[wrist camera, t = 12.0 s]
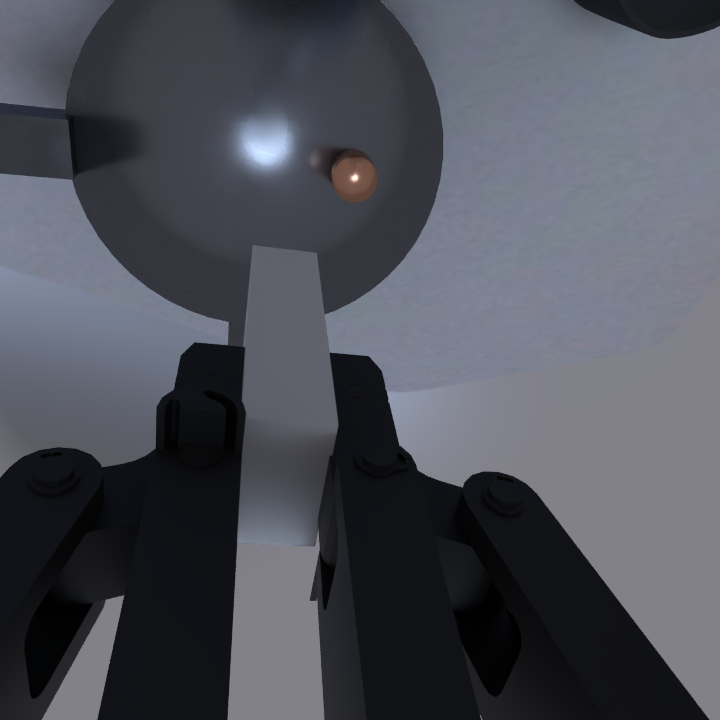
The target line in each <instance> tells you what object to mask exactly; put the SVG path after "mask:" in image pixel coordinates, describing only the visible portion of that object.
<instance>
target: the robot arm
mask: <svg viewBox="0 0 720 720" xmlns="http://www.w3.org/2000/svg"><path fill="white" fill-rule="evenodd" d="M156 419H157V420H156V449H155V450H153V451H152V452H151V453H149V454H148V455H146V456H145V457H142V458H140V459H137V460H135V461H132V462H128V463H124V464H120V465H114V466H108V467H101V464H100V463H99V462H98V461H97V460H96V459H95V458H94V457H93V456H92V455H91V454H88V453H86V452H83V451H80V450H78V449H72V448H71V449H70V448H60V447H58V448H51V449H44V450H39V451H36V452H34V453H31V454H29V455H26V456H24V457H22V458H21V459H19V460H18V461H17V462H16V463H14V464H13V465H12V466H11V467H9V469H8V470H7V471H6V472H5V473H4V474H3V475H2V476H1V478H0V720H42V718H43V716H44V714H45V713H46V711H47V708H48V707H49V705H50V703H51V702H52V700H53V698H54V696H55V694H56V693H57V691H58V689H59V687H60V685H61V683H62V682H63V680H64V678H65V676H66V674H67V673H68V671H69V669H70V667H71V665H72V663H73V662H74V660H75V658H76V656H77V654H78V652H79V651H80V649H81V647H82V645H83V644H84V642H85V640H86V638H87V636H88V635H89V633H90V631H91V629H92V627H93V625H94V624H95V622H96V620H97V618H98V616H99V615H100V613H101V611H102V609H103V607H104V604H105V600H106V599H110V598H114V597H118V596H122V595H124V600H123V604H122V608H121V614H120V618H119V622H118V627H117V632H116V636H115V641H114V645H113V650H112V655H111V659H110V664H109V669H108V673H107V678H106V682H105V687H104V692H103V696H102V701H101V706H100V710H99V715H98V719H97V720H227V717H228V698H229V680H230V663H231V645H232V626H233V625H232V624H233V608H234V590H235V572H236V553H237V543H242V544H267V545H294V546H315V544H316V538H317V533H318V529H319V543H320V551H319V556H318V561H317V566H316V572H315V576H314V582H313V586H312V592H311V597H310V601H316V599H317V601H318V616H319V617H318V618H319V634H320V651H321V667H322V683H323V701H324V717H325V720H481V718H480V715H481V717H482V719H483V720H709V719H708V717H707V716H706V715H705V714H704V712H703V711H702V710H701V708H700V707H699V706H698V705H697V703H696V702H695V701H694V699H693V698H692V696H691V695H690V694H689V692H688V691H687V690H686V689H685V687H684V686H683V685H682V683H681V682H680V681H679V679H678V678H677V677H676V676H675V674H674V673H673V672H672V671H671V669H670V668H669V666H668V665H667V664H666V662H665V661H664V660H663V658H662V657H661V656H660V654H659V653H658V652H657V651H656V650H655V648H654V647H653V645H652V644H651V643H650V641H649V640H648V639H647V638H646V636H645V635H644V634H643V632H642V631H641V630H640V628H639V627H638V626H637V625H636V623H635V622H634V620H633V619H632V618H631V616H630V615H629V614H628V613H627V611H626V610H625V609H624V607H623V606H622V605H621V603H620V602H619V601H618V599H617V598H616V597H615V596H614V594H613V593H612V592H611V590H610V589H609V588H608V586H607V585H606V584H605V582H604V581H603V580H602V578H601V577H600V576H599V575H598V573H597V572H596V571H595V569H594V568H593V567H592V565H591V564H590V563H589V561H588V560H587V559H586V557H585V556H584V555H583V554H582V552H581V551H580V550H579V548H578V547H577V546H576V544H575V543H574V542H573V540H572V539H571V538H570V536H569V535H568V534H567V533H566V531H565V530H564V529H563V527H562V526H561V525H560V523H559V522H558V521H557V520H556V518H555V517H554V515H553V514H552V513H551V512H550V510H549V509H548V508H547V506H546V505H545V504H544V502H543V501H542V500H541V498H540V497H539V496H538V495H537V493H535V492H534V491H533V490H532V489H531V488H530V487H529V486H528V485H527V484H526V483H524V482H522V481H520V480H519V479H517V478H515V477H513V476H510V475H507V474H503V473H500V472H480V473H477V474H474V475H472V476H471V477H470V478H469V479H467V481H466V482H465V483H464V486H463V488H462V487H459V486H455V485H452V484H449V483H445V482H442V481H439V480H436V479H433V478H431V477H428V476H426V475H425V474H423V473H421V472H419V471H418V470H417V466H416V464H415V462H414V460H413V458H412V456H411V455H410V454H409V453H408V452H406V451H405V450H404V449H403V448H402V447H401V446H399V442H398V438H397V434H396V429H395V425H394V421H393V417H392V412H391V409H390V404H389V402H388V395H387V391H386V390H385V383H384V379H383V374H382V371H381V370H380V368H379V367H378V366H377V365H376V364H375V363H374V362H373V361H372V359H371V358H370V357H369V356H361V355H349V354H338V353H329V346H328V338H327V330H326V322H325V314H324V306H323V298H322V291H321V283H320V275H319V267H318V259H317V253H315V252H307V251H298V250H289V249H281V248H272V247H263V246H255V245H253V247H252V258H251V268H250V279H249V289H248V300H247V310H246V321H245V332H244V342H243V347H240V346H229V345H218V344H207V343H194V344H193V345H191V346H190V347H189V348H188V349H187V350H186V351H185V352H184V353H183V354H182V355H181V358H180V362H179V367H178V373H177V377H176V382H175V388H174V390H173V391H171V392H170V393H168V394H167V395H165V396H164V397H162V399H161V401H160V402H159V404H158V406H157V415H156ZM479 713H480V714H479Z"/></svg>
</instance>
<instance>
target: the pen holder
mask: <svg viewBox="0 0 720 720" xmlns="http://www.w3.org/2000/svg"><path fill="white" fill-rule="evenodd" d="M575 1H576V2H577V3H578V4H579V5H580V6H582V7H583V8H585V9H587V10H589V11H591V12H593V13H595V14H598V15H600V16H602V17H604V18H607V19H609V20H612V21H614V22H617V23H619V24H622V25H624V26H627V27H630V28H632V29H635V30H637V31H640V32H642V33H645V34H647V35H650V36H653V37H657V38H665V39H671V38H681V37H687V36H692V35H696V34H700V33H703V32H706V31H709V30H711V29H714V28H716V27H718V26H720V0H575Z"/></svg>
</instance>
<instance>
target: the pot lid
mask: <svg viewBox="0 0 720 720" xmlns="http://www.w3.org/2000/svg"><path fill="white" fill-rule="evenodd" d="M442 161H443V129H442V121H441V114H440V107H439V103H438V99H437V96H436V92H435V88H434V84H433V82H432V79H431V77H430V74H429V72H428V69H427V67H426V65H425V62H424V60H423V58H422V56H421V54H420V53H419V51H418V49H417V47H416V46H415V44H414V42H413V41H412V39H411V37H410V36H409V34H408V33H407V32H406V30H405V29H404V28H403V26H402V25H401V24H400V23H399V21H398V20H397V19H396V17H395V16H394V15H393V14H392V13H391V12H390V11H389V10H388V9H387V8H386V7H385V6H384V5H383V4H382V3H381V2H380V1H379V0H115V1H114V3H113V4H112V5H111V6H110V7H109V8H108V10H107V11H106V12H105V13H104V14H103V15H102V17H101V18H100V19H99V20H98V22H97V23H96V25H95V27H94V28H93V30H92V32H91V33H90V35H89V36H88V38H87V40H86V41H85V43H84V45H83V48H82V50H81V52H80V55H79V57H78V59H77V62H76V64H75V66H74V70H73V74H72V77H71V81H70V85H69V89H68V93H67V102H66V110H64V109H54V108H44V107H34V106H24V105H14V104H5V103H0V173H2V174H13V175H25V176H36V177H48V178H59V179H71V180H73V184H74V187H75V190H76V194H77V196H78V198H79V200H80V203H81V205H82V207H83V210H84V212H85V214H86V216H87V218H88V220H89V221H90V223H91V225H92V226H93V228H94V230H95V231H96V233H97V235H98V236H99V238H100V239H101V240H102V242H103V243H104V244H105V246H106V247H107V248H108V249H109V251H110V252H111V253H112V255H113V256H114V257H115V258H116V259H117V260H118V261H119V262H120V263H121V264H122V265H123V266H124V267H125V268H126V269H127V270H128V271H129V272H130V273H131V274H132V275H133V276H134V277H136V278H137V279H138V280H139V281H141V282H142V283H143V284H144V285H146V286H147V287H148V288H150V289H151V290H153V291H154V292H156V293H157V294H159V295H161V296H162V297H164V298H165V299H167V300H169V301H171V302H173V303H175V304H177V305H179V306H181V307H183V308H185V309H187V310H190V311H193V312H195V313H198V314H201V315H204V316H207V317H210V318H214V319H219V320H223V321H227V322H233V323H241V324H245V321H246V310H247V300H248V289H249V279H250V268H251V258H252V247H253V245H255V246H263V247H272V248H281V249H289V250H298V251H307V252H315V253H317V259H318V267H319V275H320V283H321V291H322V298H323V306H324V314H327V313H330V312H332V311H335V310H337V309H339V308H341V307H343V306H345V305H347V304H349V303H351V302H353V301H355V300H357V299H358V298H360V297H361V296H363V295H364V294H366V293H367V292H369V291H370V290H372V289H373V288H374V287H375V286H377V285H378V284H379V283H380V282H381V281H382V280H384V279H385V278H386V277H387V276H388V275H389V274H390V273H391V272H392V271H393V270H394V269H395V268H396V267H397V266H398V265H399V263H400V262H401V261H402V260H403V259H404V258H405V256H406V255H407V253H408V252H409V251H410V249H411V248H412V246H413V245H414V244H415V242H416V241H417V239H418V237H419V235H420V233H421V231H422V230H423V228H424V226H425V224H426V222H427V220H428V217H429V214H430V212H431V209H432V207H433V204H434V202H435V198H436V194H437V190H438V186H439V182H440V177H441V169H442Z"/></svg>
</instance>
